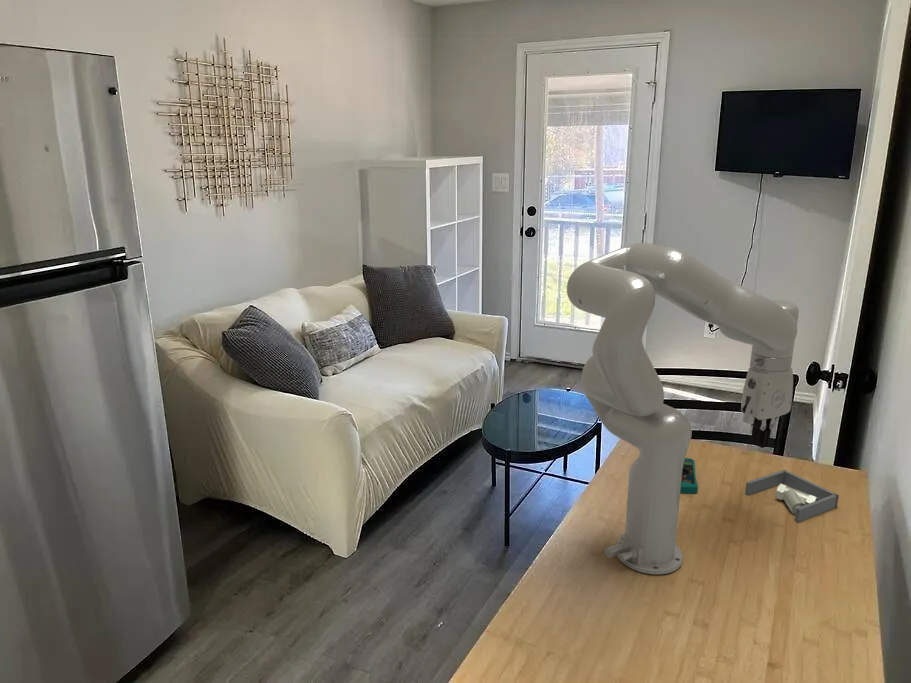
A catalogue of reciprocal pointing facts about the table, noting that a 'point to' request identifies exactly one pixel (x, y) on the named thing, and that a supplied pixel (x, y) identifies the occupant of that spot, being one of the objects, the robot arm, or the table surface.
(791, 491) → the pipe fitting
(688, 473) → the digital multimeter
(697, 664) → the table surface
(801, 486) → the gray u-shaped frame
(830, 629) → the table surface
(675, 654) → the table surface
